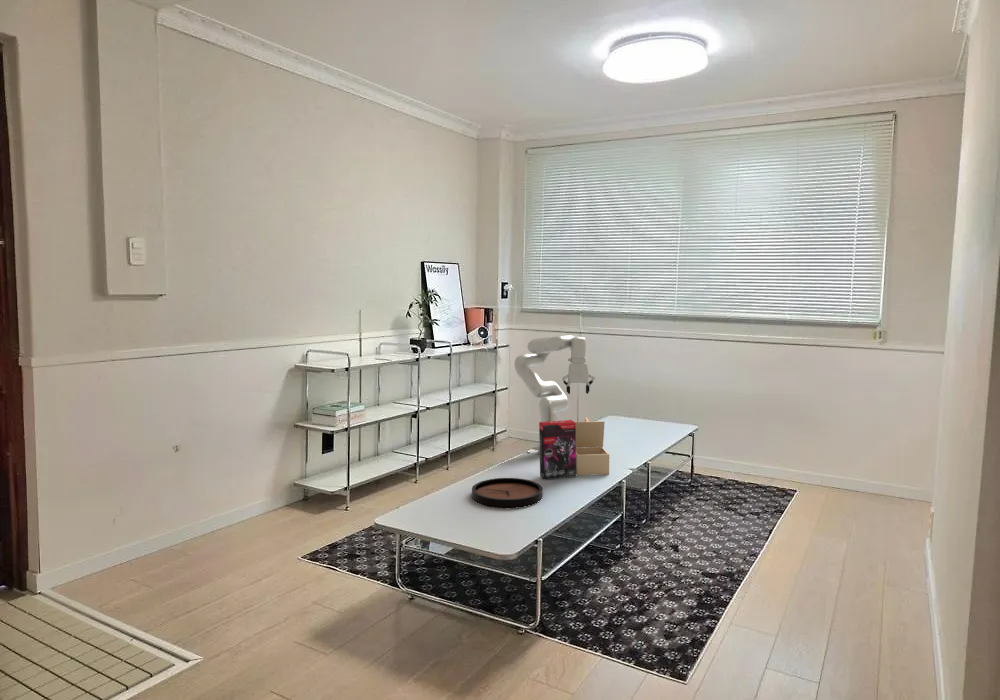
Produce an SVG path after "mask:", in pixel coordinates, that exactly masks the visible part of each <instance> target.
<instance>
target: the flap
mask: <svg viewBox="0 0 1000 700" xmlns="http://www.w3.org/2000/svg"><path fill="white" fill-rule="evenodd" d="M574 422H575V423H576V448H586V447H603V448H604V437H605V436H604V435H605V420H600V421H599V420H598V421H597V420H596V421H595V420H594V421H593V420H591V421H590V420H589V418H588V417H584V421H574Z"/></svg>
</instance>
